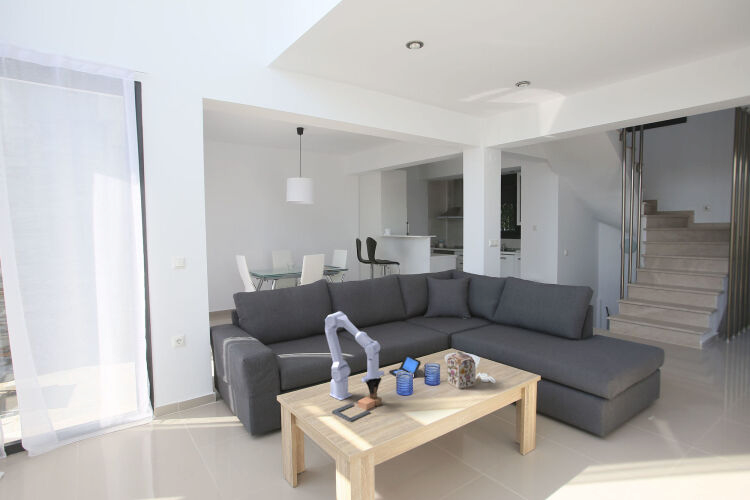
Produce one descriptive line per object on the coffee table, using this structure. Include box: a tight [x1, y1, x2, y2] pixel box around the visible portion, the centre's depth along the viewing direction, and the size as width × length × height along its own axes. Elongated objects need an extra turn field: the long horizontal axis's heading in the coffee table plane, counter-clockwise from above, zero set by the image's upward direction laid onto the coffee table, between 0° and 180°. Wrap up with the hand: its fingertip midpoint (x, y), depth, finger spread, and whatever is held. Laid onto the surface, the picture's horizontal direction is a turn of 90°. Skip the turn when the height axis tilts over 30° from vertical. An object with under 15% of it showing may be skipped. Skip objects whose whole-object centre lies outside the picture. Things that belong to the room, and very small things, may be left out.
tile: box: [357, 396, 376, 411], centre depth 205 cm, size 6×6×3 cm
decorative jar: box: [446, 351, 477, 390], centre depth 232 cm, size 12×12×18 cm
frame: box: [331, 402, 370, 423], centre depth 198 cm, size 13×12×1 cm
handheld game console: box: [388, 354, 422, 379], centre depth 248 cm, size 16×13×9 cm
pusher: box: [365, 387, 383, 407], centre depth 209 cm, size 8×4×8 cm, turn 45°
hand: (373, 392), depth 209 cm, fingers closed on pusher, 2 cm apart
